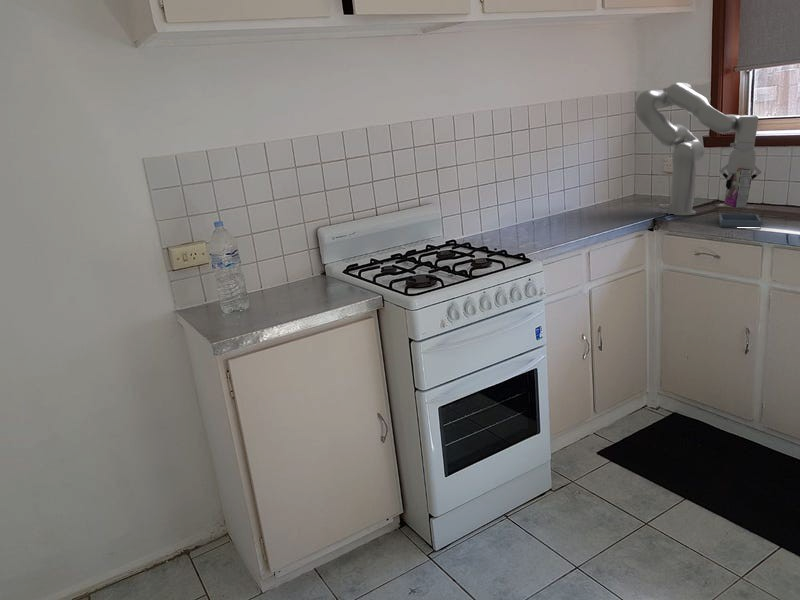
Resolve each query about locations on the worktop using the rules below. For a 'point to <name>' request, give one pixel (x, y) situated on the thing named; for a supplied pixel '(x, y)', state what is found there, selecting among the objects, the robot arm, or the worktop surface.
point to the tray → (739, 220)
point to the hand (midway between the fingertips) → (737, 189)
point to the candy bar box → (739, 188)
